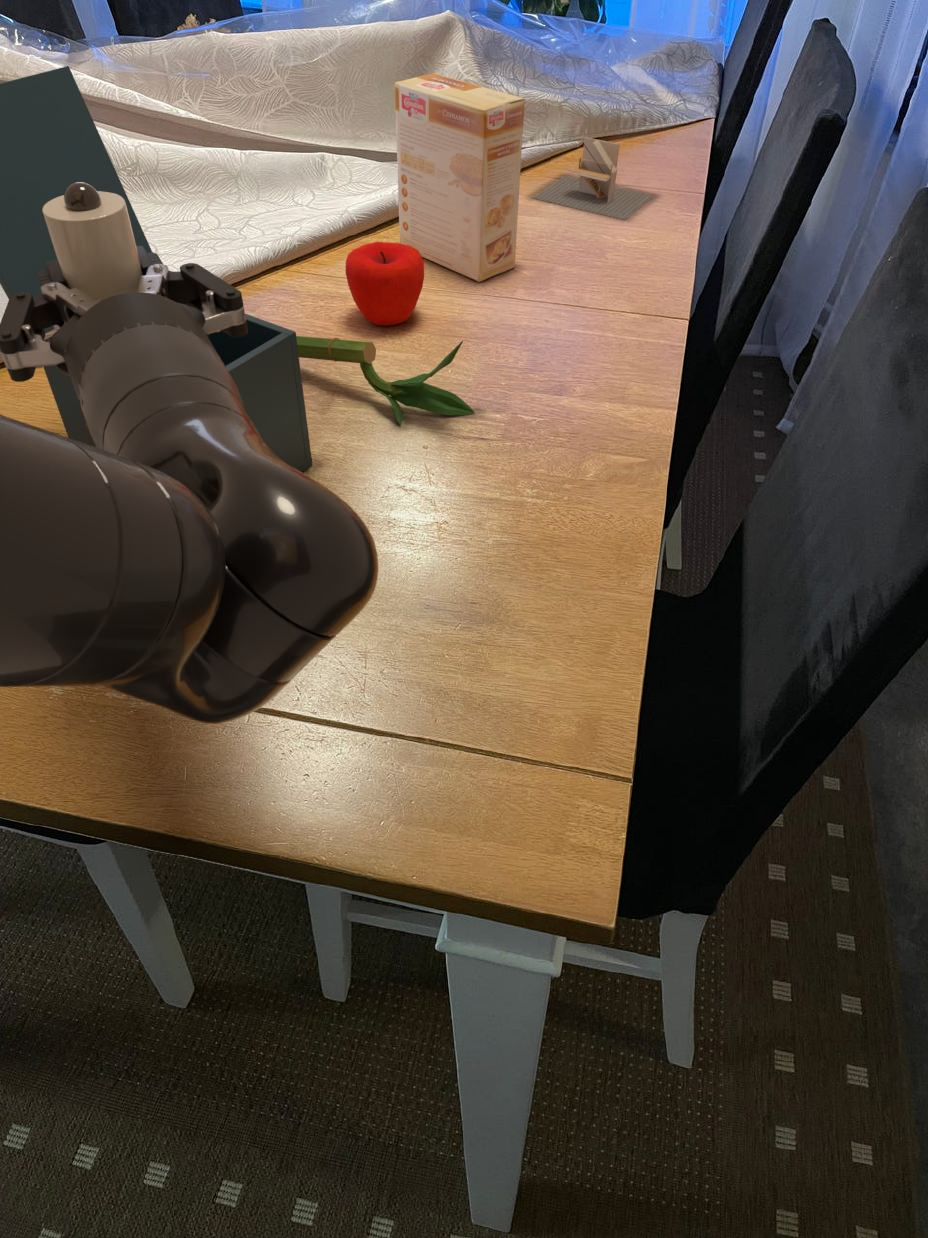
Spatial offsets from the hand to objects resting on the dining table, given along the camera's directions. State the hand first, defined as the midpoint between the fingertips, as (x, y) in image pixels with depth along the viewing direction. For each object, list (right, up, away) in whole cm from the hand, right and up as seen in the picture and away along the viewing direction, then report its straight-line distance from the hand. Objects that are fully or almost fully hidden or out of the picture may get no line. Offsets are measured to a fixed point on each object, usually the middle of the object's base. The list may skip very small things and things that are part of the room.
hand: (98, 268), depth 56 cm
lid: (-9, +11, +13) cm, 19 cm away
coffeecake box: (+22, +25, +59) cm, 68 cm away
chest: (-1, -9, +25) cm, 26 cm away
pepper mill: (+1, -6, +3) cm, 7 cm away
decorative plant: (+10, +2, +36) cm, 38 cm away
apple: (+14, +13, +47) cm, 51 cm away
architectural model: (+43, +41, +75) cm, 96 cm away
